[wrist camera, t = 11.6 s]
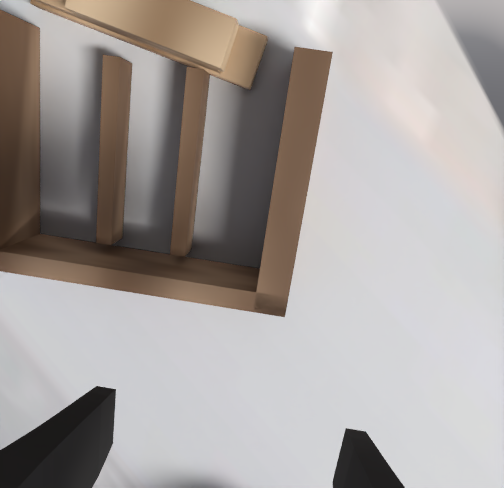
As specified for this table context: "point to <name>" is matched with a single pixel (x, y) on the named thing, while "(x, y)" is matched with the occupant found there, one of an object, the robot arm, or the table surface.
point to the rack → (114, 178)
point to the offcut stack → (173, 32)
